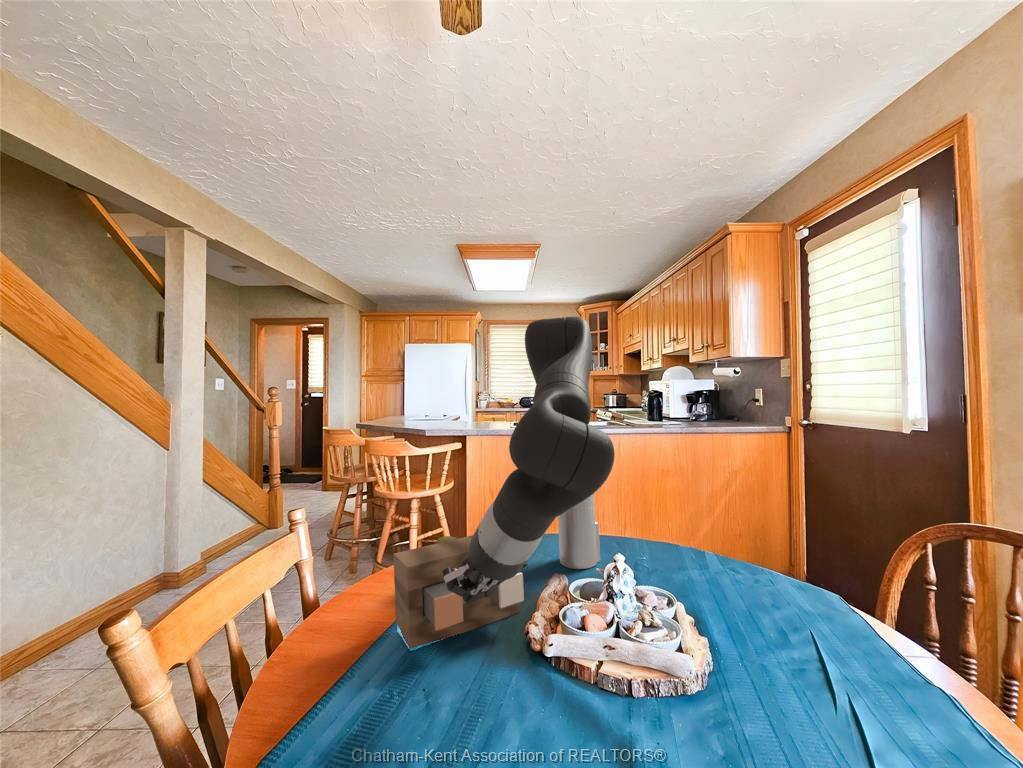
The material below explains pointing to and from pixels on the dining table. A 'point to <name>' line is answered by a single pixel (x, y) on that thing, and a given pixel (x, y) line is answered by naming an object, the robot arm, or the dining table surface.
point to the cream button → (507, 591)
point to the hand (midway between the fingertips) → (468, 596)
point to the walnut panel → (426, 570)
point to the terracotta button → (442, 605)
